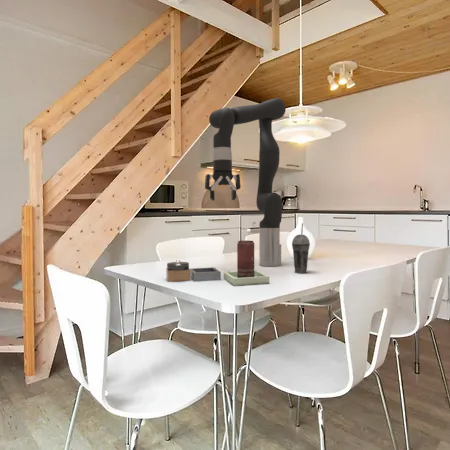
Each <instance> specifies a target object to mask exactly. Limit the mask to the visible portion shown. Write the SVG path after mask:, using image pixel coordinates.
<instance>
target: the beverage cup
mask: <svg viewBox="0 0 450 450" xmlns="http://www.w3.org/2000/svg"><path fill="white" fill-rule="evenodd" d="M303 227H304V223H301V229H300V232H301V233H300V234H296V235H295V236H294V237H293V239H292V241H291V245H292V246H291V247H292V252H293V253H292V254H293V265H294V272H295V274H296V273H297V274H307V269H308V262H309V261H308V260H309V250H310V247H311V246H310V245H311V243H310V239H309V238H308V237H307V236H306V235H305V234H303V230H304V228H303Z"/></svg>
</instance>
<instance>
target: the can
mask: <svg viewBox="0 0 450 450" xmlns="http://www.w3.org/2000/svg"><path fill="white" fill-rule="evenodd" d="M236 249H237V250H236V251H237V252H236V253H237V255H236V256H237V257H236V258H237V259H236V261H237V264H236V265H237V266H236V267H237V268H236V269H237V270H236V271H237V278H244V277H254V270H255V242H254V240H243V239H241V240H238V241H237V246H236Z"/></svg>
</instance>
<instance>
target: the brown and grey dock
mask: <svg viewBox="0 0 450 450" xmlns="http://www.w3.org/2000/svg"><path fill="white" fill-rule="evenodd" d="M165 272H166V274H165V275H166V280H167V282H170V283H171V282H187V281H191V280H192V281H193V282H204V281H205V282H207V281H221V279H222V273H221V272H222V271H220V270H219V269H217V268H216V267H213V266H212V267H196V268H190V262H188V261H181V260H175V261H171V262H167V263H166V268H165Z"/></svg>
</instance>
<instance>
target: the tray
mask: <svg viewBox="0 0 450 450" xmlns="http://www.w3.org/2000/svg"><path fill="white" fill-rule="evenodd" d="M223 280H224V281H226V282H227V283H228V284H230V285H231V286H233V287H238V286H240V287H241V286H254V285H269V284H270V276H269V275H267V274H265V273H262V272H261V271H259V270H255V269H254V277H244V278H237V270H235V271H224V272H223Z"/></svg>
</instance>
